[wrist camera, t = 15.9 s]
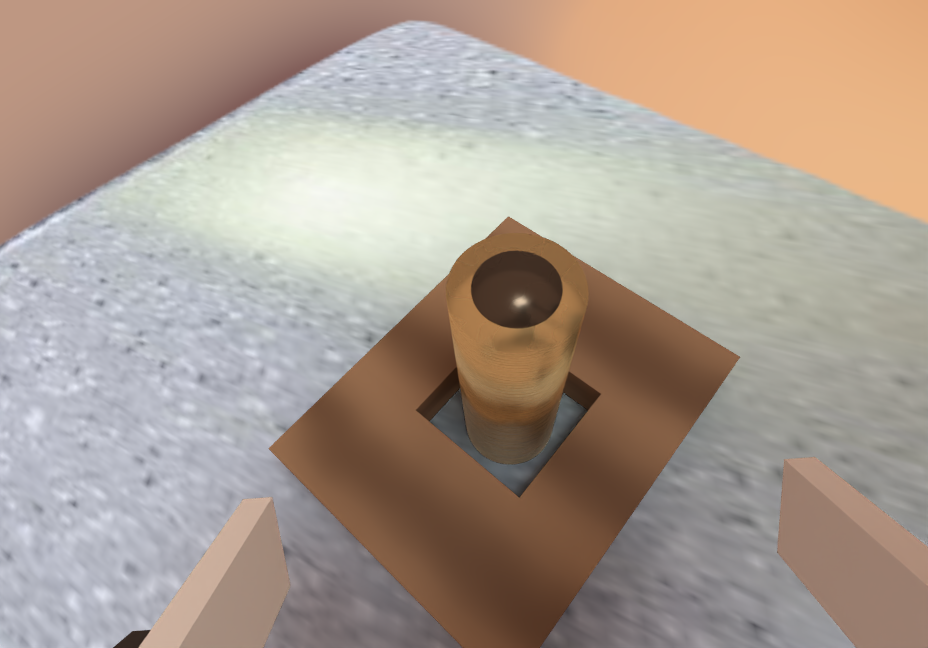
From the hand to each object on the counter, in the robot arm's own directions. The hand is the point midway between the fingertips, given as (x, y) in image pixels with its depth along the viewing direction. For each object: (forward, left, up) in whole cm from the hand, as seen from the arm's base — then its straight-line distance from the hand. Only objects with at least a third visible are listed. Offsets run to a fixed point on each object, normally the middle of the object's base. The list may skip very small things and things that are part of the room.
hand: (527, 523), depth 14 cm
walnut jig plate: (-6, -5, -15) cm, 17 cm away
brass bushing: (-6, -5, -15) cm, 17 cm away
